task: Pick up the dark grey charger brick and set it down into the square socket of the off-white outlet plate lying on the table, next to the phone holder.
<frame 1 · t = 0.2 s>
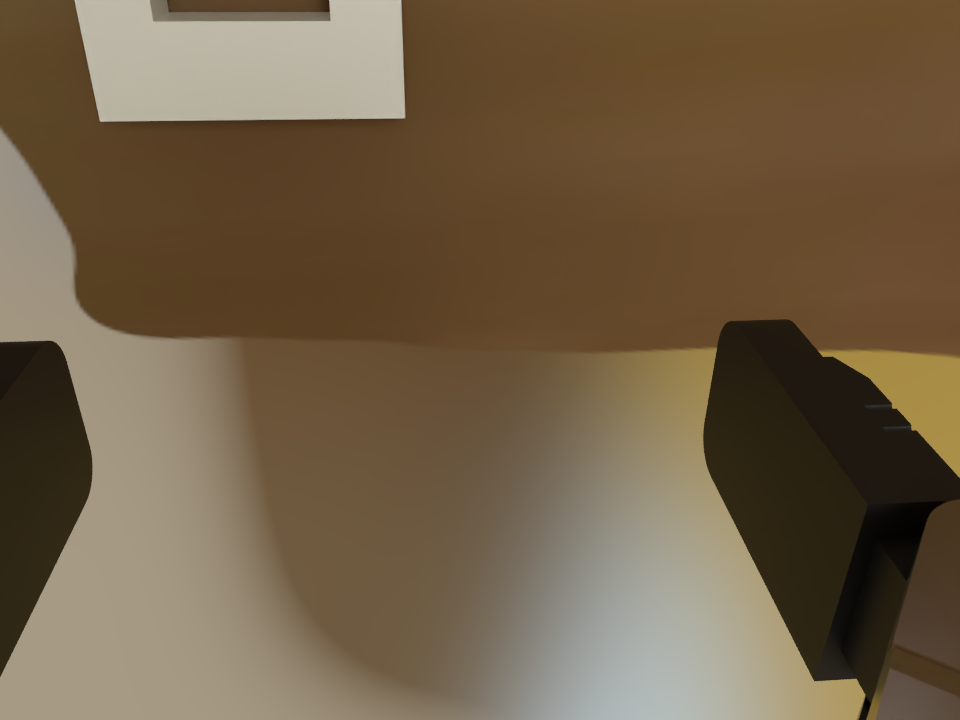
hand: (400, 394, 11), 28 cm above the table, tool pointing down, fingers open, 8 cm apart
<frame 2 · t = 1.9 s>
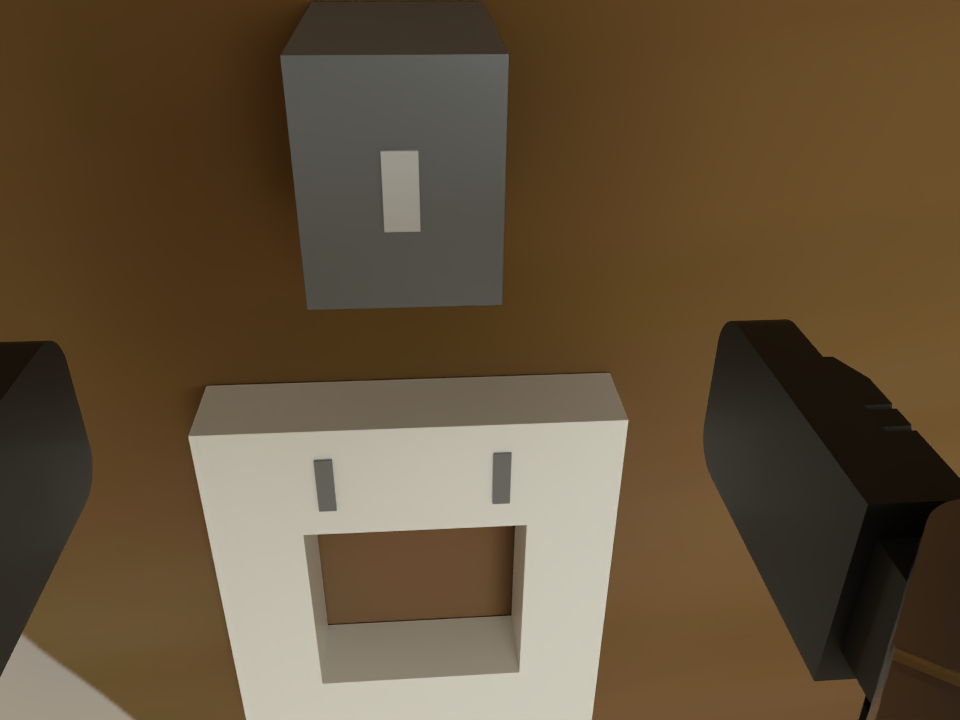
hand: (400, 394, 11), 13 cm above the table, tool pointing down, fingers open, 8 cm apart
outlet plate: (417, 552, 29), on the table
charger: (401, 108, 21), on the table
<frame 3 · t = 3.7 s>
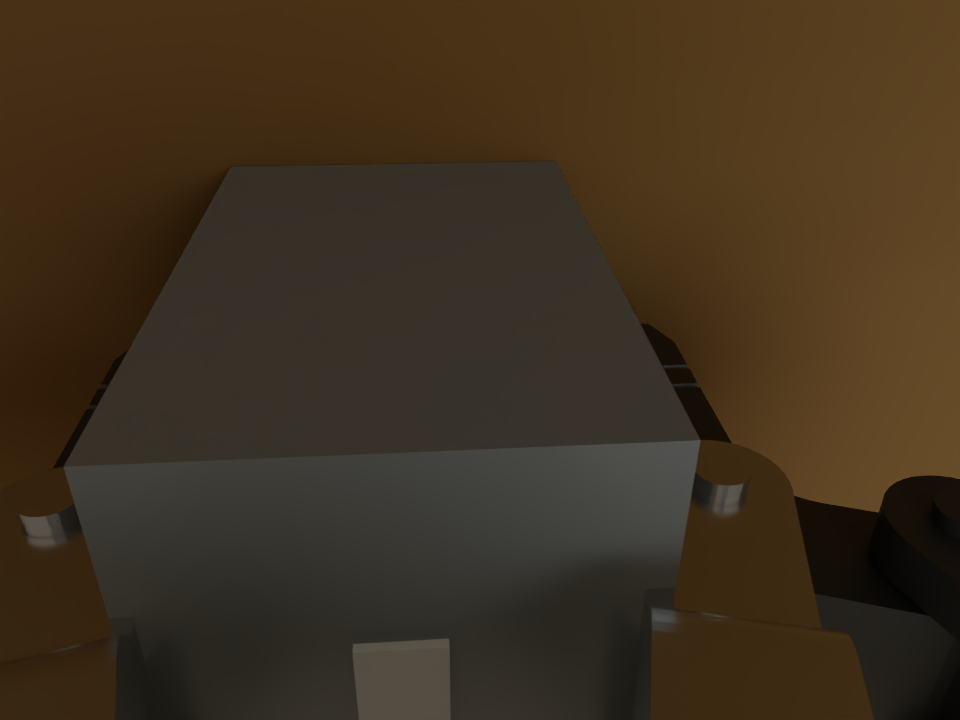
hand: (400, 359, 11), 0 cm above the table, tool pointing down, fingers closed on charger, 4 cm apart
charger: (403, 340, 12), on the table, touching gripper
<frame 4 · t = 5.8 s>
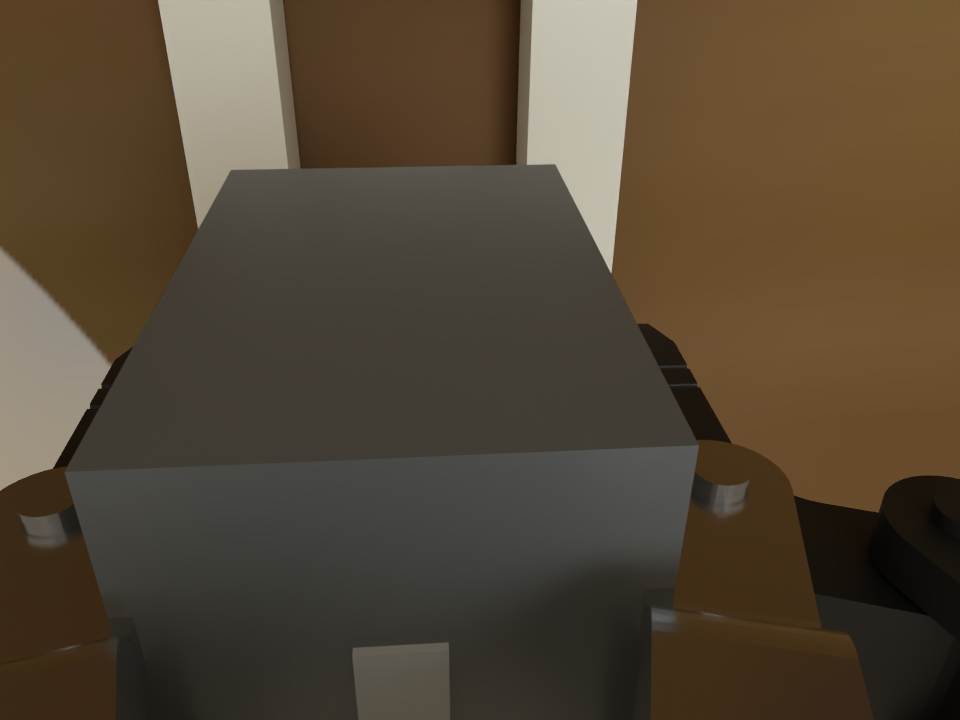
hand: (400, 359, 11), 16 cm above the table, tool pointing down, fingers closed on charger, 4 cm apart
outlet plate: (406, 85, 25), on the table
charger: (403, 343, 12), point 15 cm above the table, touching gripper
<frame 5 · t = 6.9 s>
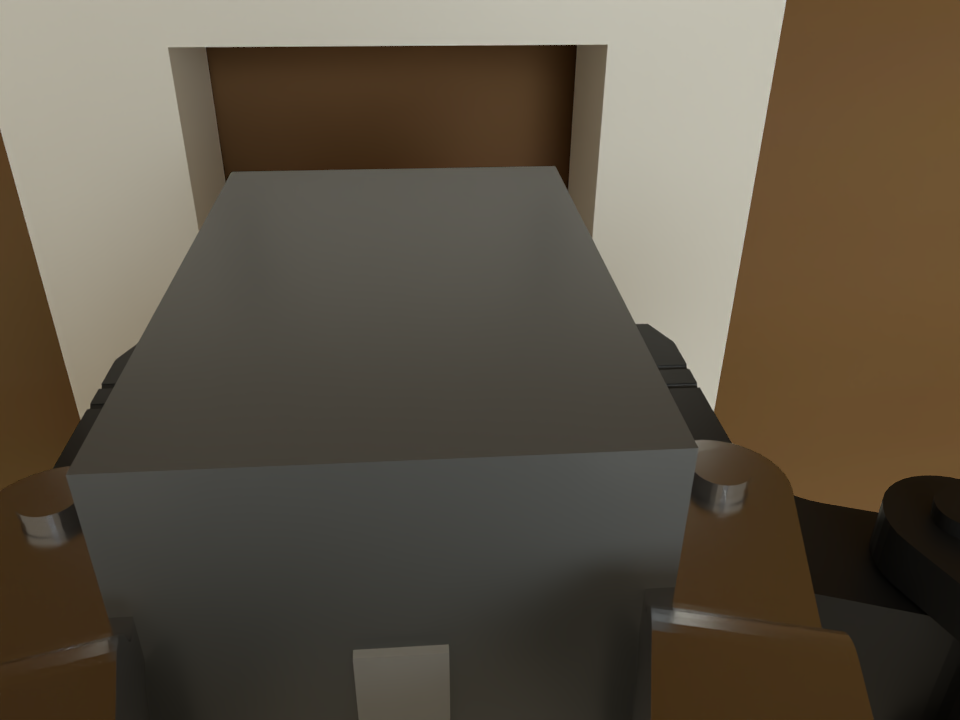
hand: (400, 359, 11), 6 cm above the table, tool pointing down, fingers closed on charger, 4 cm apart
outlet plate: (400, 199, 17), on the table
charger: (403, 344, 12), point 6 cm above the table, touching gripper
when the fingers open (2 cm above the table, at t = 8.0 s): charger drops 2 cm, resting in outlet plate.
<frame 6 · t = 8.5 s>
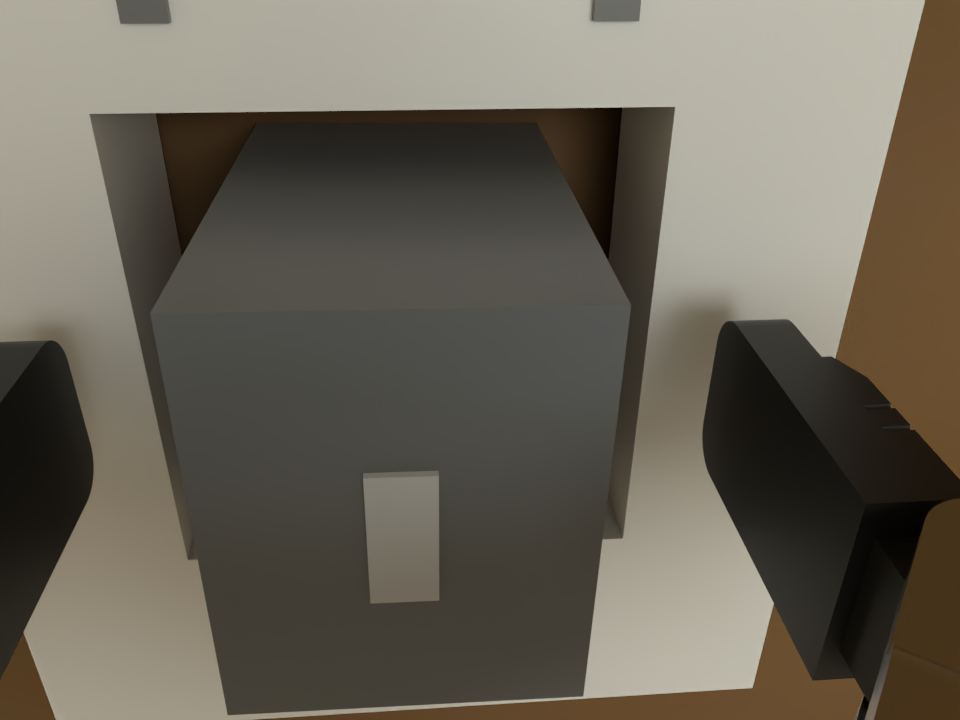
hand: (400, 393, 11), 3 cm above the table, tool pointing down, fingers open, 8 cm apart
outlet plate: (400, 282, 13), on the table
charger: (402, 280, 14), resting in outlet plate
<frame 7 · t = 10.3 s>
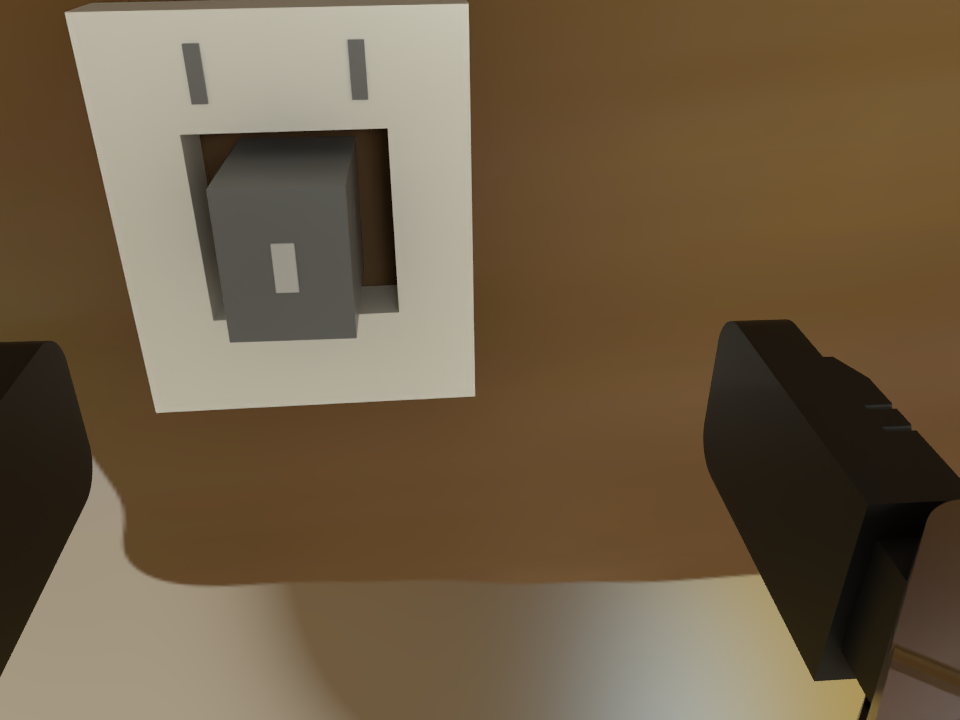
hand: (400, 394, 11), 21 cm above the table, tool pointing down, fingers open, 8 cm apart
outlet plate: (303, 205, 31), on the table
charger: (304, 205, 31), resting in outlet plate
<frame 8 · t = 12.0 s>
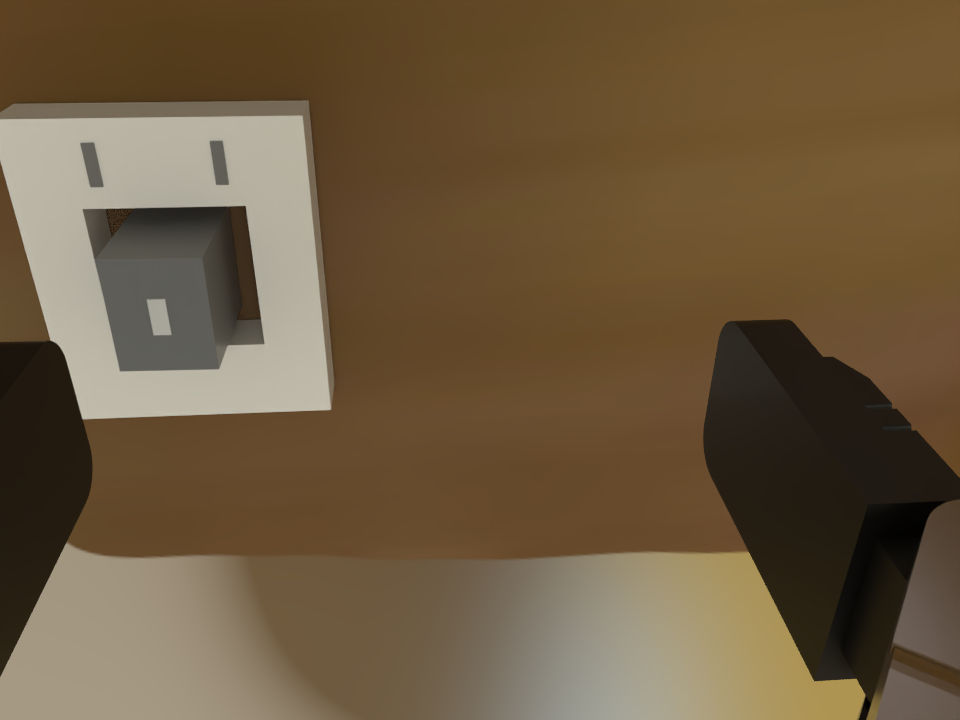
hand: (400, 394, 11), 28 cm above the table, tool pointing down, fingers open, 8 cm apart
outlet plate: (190, 257, 39), on the table
charger: (191, 256, 39), resting in outlet plate
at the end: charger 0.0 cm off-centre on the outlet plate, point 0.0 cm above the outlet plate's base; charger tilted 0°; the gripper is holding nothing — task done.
